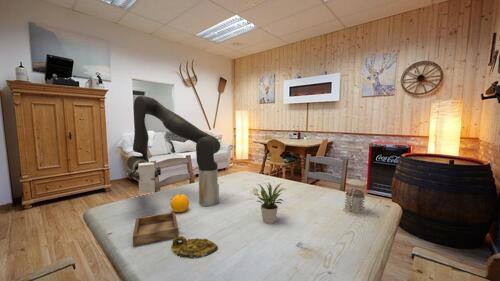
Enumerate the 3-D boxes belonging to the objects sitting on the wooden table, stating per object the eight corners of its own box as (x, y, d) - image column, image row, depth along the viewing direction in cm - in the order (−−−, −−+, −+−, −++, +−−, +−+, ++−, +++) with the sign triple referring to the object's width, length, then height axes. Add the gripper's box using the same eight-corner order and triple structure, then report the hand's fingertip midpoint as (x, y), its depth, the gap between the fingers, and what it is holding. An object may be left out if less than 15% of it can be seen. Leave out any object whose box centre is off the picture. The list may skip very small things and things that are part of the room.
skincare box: (139, 194, 87) (138, 165, 85) (138, 190, 90) (137, 163, 89) (155, 191, 90) (154, 163, 89) (154, 188, 94) (153, 161, 93)
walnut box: (174, 220, 87) (174, 211, 86) (178, 237, 74) (178, 227, 74) (136, 227, 81) (136, 218, 81) (133, 246, 68) (132, 236, 68)
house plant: (291, 216, 92) (292, 179, 90) (286, 231, 79) (287, 189, 77) (260, 211, 96) (260, 176, 95) (250, 225, 83) (251, 185, 82)
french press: (368, 211, 97) (372, 158, 94) (361, 220, 88) (365, 161, 86) (346, 205, 103) (349, 155, 101) (337, 213, 95) (340, 158, 92)
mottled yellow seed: (218, 244, 73) (174, 245, 72) (219, 230, 73) (175, 231, 72) (216, 258, 63) (165, 259, 62) (216, 242, 64) (166, 243, 63)
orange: (167, 212, 94) (166, 196, 93) (179, 206, 101) (178, 190, 101) (181, 215, 91) (181, 198, 90) (192, 208, 98) (192, 193, 98)
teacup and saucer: (266, 194, 119) (266, 187, 118) (259, 199, 112) (259, 191, 112) (253, 191, 124) (253, 185, 123) (245, 195, 117) (245, 188, 116)
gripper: (124, 162, 97) (127, 169, 83) (157, 159, 105) (165, 165, 91) (125, 178, 98) (128, 188, 84) (158, 174, 106) (165, 182, 92)
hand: (147, 176), depth 88 cm, fingers closed on skincare box, 6 cm apart
